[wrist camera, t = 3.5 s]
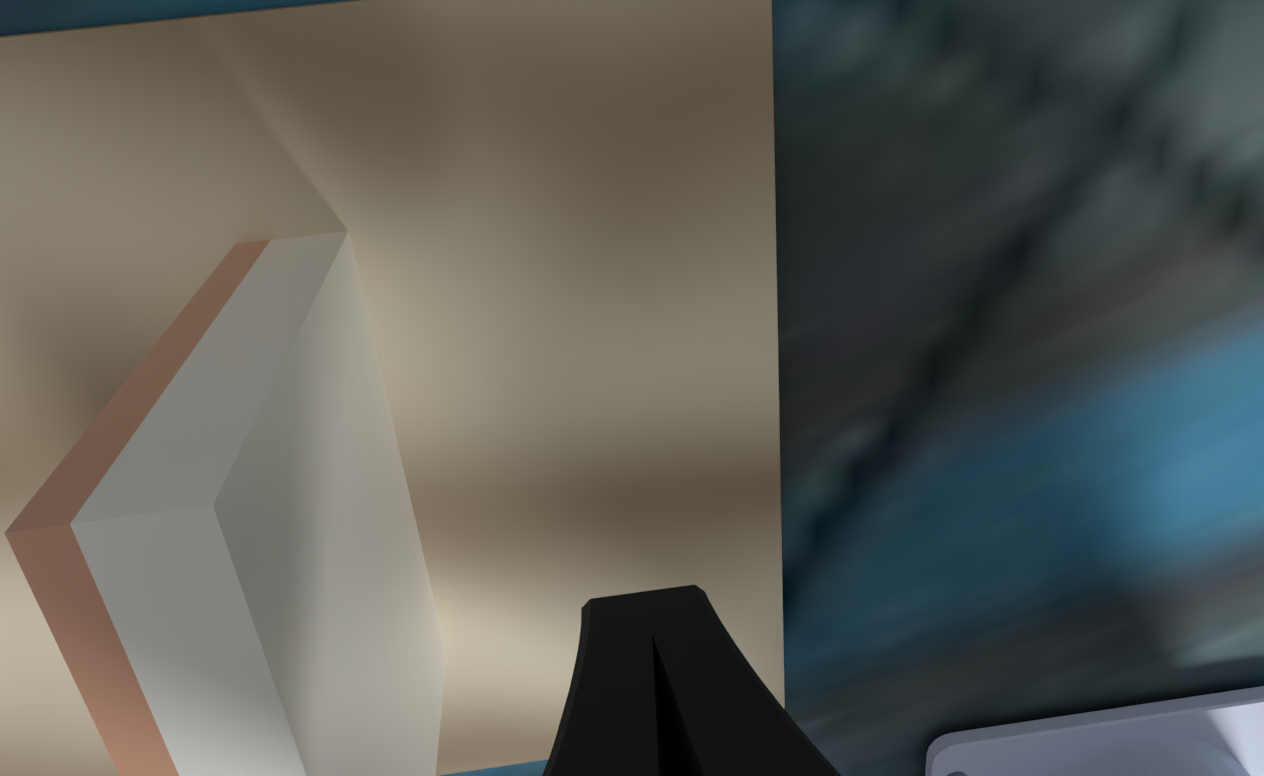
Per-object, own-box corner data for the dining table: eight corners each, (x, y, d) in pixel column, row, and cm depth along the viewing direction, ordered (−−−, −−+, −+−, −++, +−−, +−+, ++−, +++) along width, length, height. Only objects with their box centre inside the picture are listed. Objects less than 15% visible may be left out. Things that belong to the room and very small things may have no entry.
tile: (446, 654, 18) (408, 1071, 11) (357, 666, 17) (270, 1093, 11) (349, 231, 14) (212, 506, 8) (235, 244, 14) (4, 533, 8)
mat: (781, 713, 19) (784, 724, 19) (-143, 848, 18) (-152, 862, 18) (765, -43, 13) (771, -42, 13) (-656, 103, 12) (-682, 107, 12)
